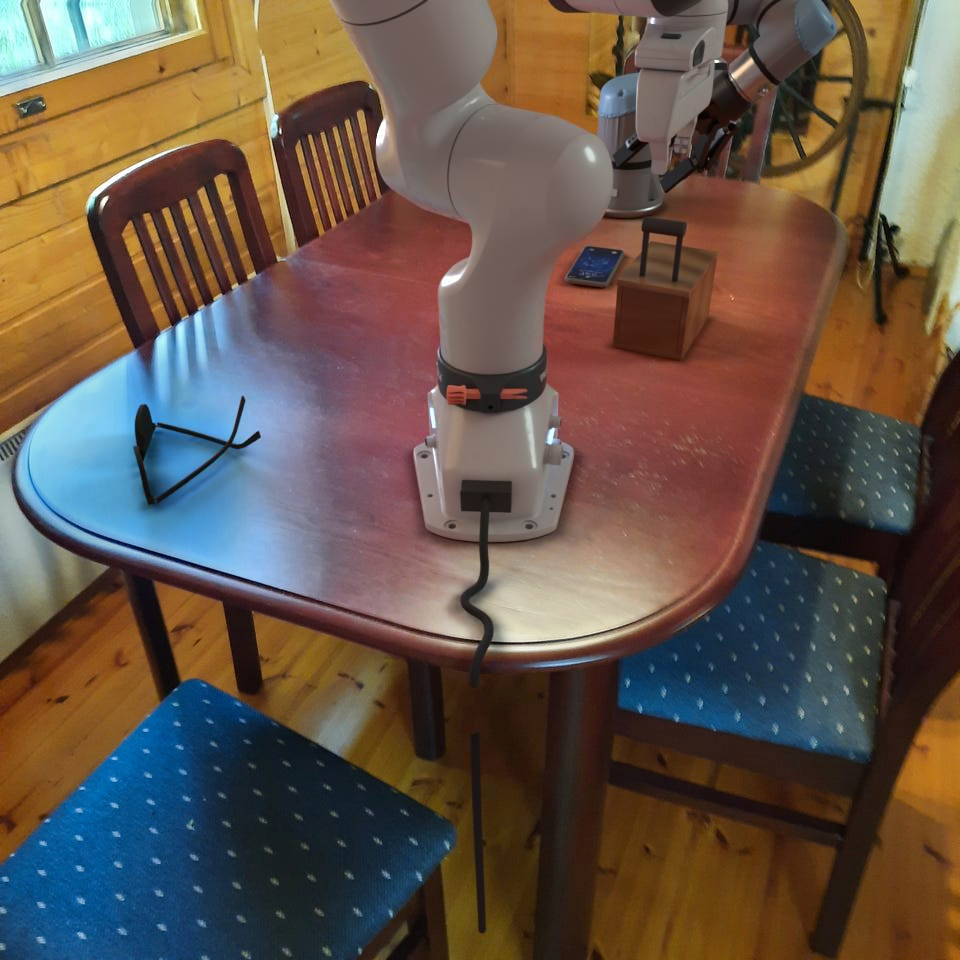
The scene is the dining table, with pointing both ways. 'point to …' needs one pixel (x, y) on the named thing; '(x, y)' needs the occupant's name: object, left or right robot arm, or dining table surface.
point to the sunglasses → (147, 427)
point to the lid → (667, 261)
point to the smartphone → (595, 266)
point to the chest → (661, 319)
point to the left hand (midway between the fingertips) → (671, 162)
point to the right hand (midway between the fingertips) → (640, 175)
